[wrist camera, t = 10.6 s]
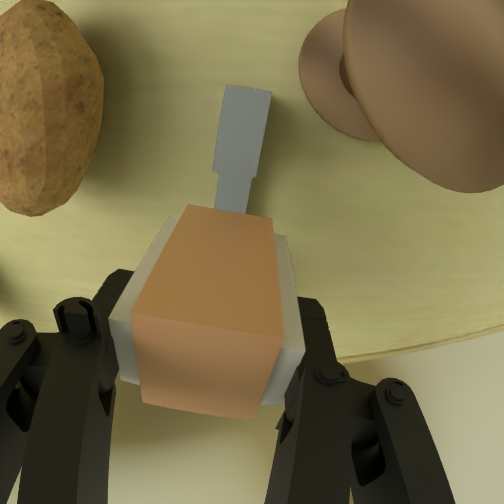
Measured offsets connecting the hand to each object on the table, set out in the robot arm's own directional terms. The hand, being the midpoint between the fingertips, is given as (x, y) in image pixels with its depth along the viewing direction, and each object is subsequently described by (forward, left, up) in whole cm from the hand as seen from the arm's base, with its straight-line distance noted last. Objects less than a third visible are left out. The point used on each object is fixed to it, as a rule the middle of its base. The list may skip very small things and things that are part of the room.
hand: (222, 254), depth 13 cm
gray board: (0, 0, -8) cm, 8 cm away
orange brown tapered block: (0, 0, 0) cm, 0 cm away
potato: (-6, -13, -8) cm, 17 cm away
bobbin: (-10, +7, -8) cm, 15 cm away
